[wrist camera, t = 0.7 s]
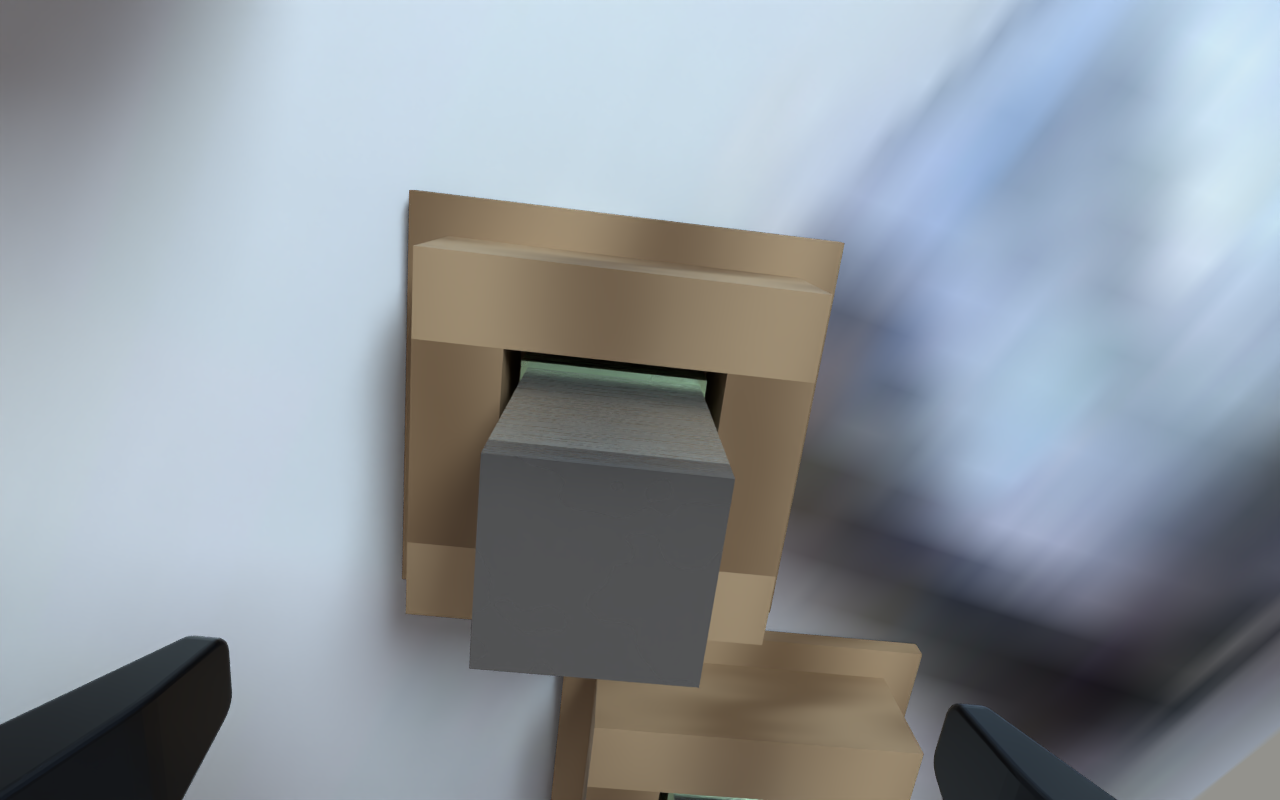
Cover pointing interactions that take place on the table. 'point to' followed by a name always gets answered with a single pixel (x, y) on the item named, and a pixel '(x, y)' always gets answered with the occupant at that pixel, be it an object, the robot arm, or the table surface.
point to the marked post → (600, 524)
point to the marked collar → (608, 330)
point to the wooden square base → (748, 726)
